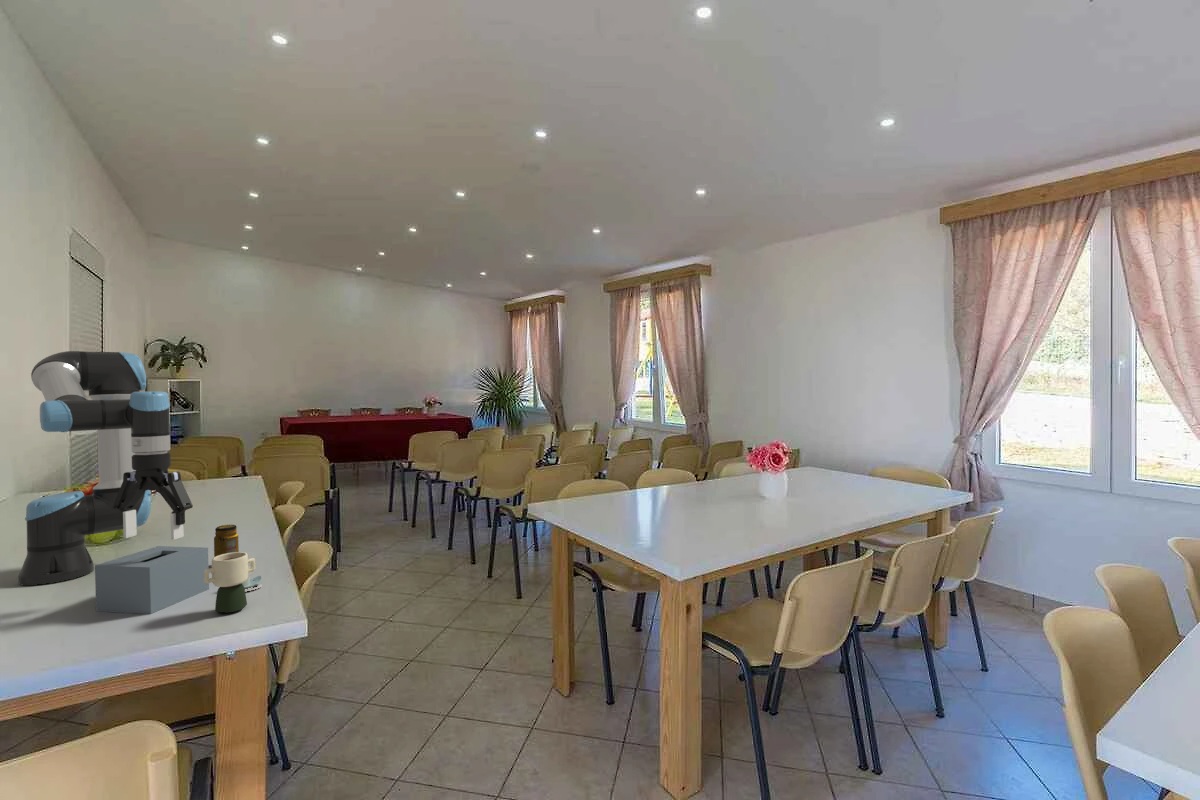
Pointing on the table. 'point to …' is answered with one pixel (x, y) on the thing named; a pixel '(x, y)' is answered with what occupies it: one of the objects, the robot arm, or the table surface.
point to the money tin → (150, 579)
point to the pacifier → (250, 583)
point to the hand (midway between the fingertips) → (153, 537)
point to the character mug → (230, 580)
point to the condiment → (225, 540)
